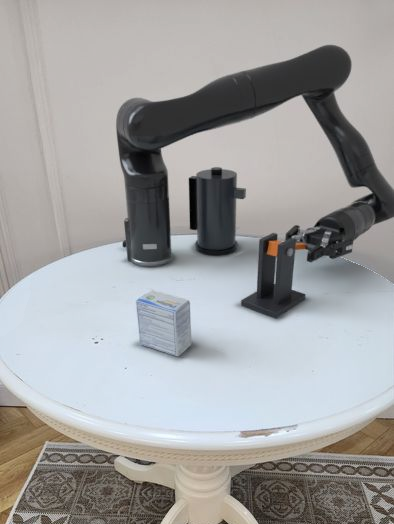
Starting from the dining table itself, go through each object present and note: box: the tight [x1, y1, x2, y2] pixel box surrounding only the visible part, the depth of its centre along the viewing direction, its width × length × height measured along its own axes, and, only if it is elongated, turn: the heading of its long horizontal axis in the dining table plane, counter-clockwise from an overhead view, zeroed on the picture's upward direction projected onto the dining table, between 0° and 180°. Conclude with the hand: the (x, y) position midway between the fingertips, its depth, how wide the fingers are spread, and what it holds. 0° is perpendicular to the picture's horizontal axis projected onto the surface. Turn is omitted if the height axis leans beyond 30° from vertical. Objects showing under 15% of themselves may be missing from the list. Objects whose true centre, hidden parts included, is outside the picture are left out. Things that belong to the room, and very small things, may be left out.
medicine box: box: [135, 289, 193, 357], centre depth 87 cm, size 8×4×9 cm, turn 58°
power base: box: [240, 232, 306, 319], centre depth 99 cm, size 10×8×13 cm
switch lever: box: [267, 239, 316, 258], centre depth 100 cm, size 12×5×2 cm, turn 138°
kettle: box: [188, 166, 247, 257], centre depth 122 cm, size 13×10×18 cm
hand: (296, 253), depth 102 cm, fingers closed on switch lever, 5 cm apart
